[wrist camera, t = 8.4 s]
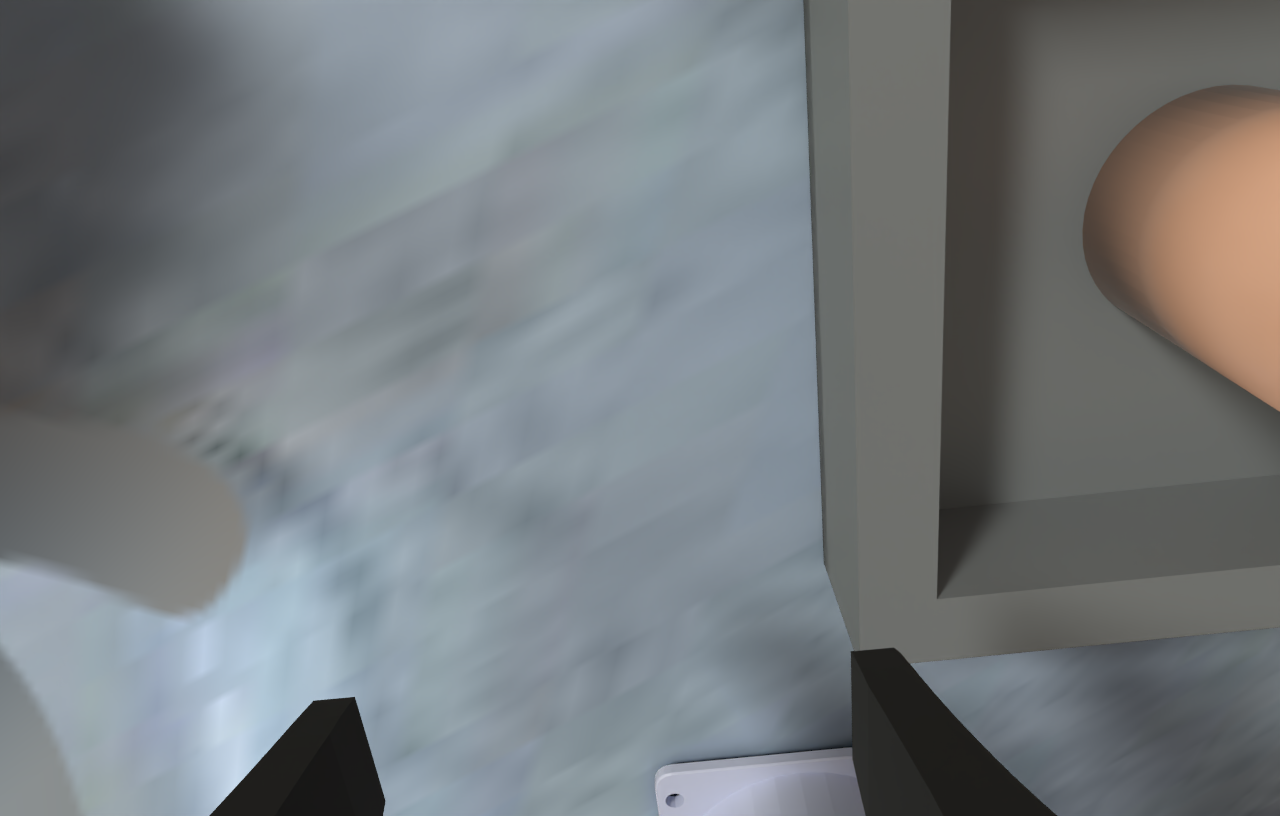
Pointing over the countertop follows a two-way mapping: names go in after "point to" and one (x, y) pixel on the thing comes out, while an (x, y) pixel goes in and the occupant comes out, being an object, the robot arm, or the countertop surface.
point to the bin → (1019, 335)
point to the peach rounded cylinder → (1198, 230)
